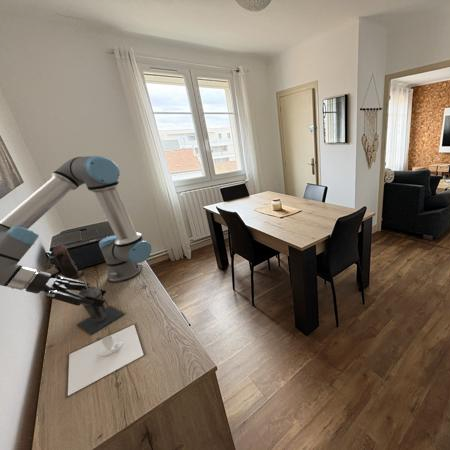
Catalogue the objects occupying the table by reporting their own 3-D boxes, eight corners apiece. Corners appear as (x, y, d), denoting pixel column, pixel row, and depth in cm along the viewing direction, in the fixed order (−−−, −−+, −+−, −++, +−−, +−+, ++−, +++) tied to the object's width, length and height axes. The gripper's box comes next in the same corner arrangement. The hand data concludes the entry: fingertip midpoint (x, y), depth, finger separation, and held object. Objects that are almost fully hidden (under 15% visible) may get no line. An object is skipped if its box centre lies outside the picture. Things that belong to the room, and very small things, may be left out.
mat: (109, 306, 109) (109, 306, 109) (124, 314, 104) (124, 313, 104) (77, 324, 99) (77, 324, 99) (91, 334, 94) (91, 333, 94)
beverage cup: (88, 327, 96) (68, 286, 89) (91, 317, 102) (72, 277, 95) (110, 319, 100) (92, 279, 93) (111, 310, 106) (95, 271, 99)
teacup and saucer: (126, 348, 86) (122, 340, 85) (98, 362, 82) (93, 354, 80) (122, 335, 93) (119, 326, 91) (96, 347, 88) (92, 338, 86)
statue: (82, 272, 139) (68, 241, 132) (79, 278, 134) (64, 246, 126) (67, 276, 136) (52, 245, 129) (63, 282, 131) (47, 250, 123)
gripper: (33, 276, 93) (100, 294, 107) (14, 304, 77) (95, 320, 92) (45, 260, 94) (110, 280, 108) (29, 284, 78) (107, 303, 92)
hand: (103, 298), depth 100 cm, fingers closed on beverage cup, 7 cm apart
